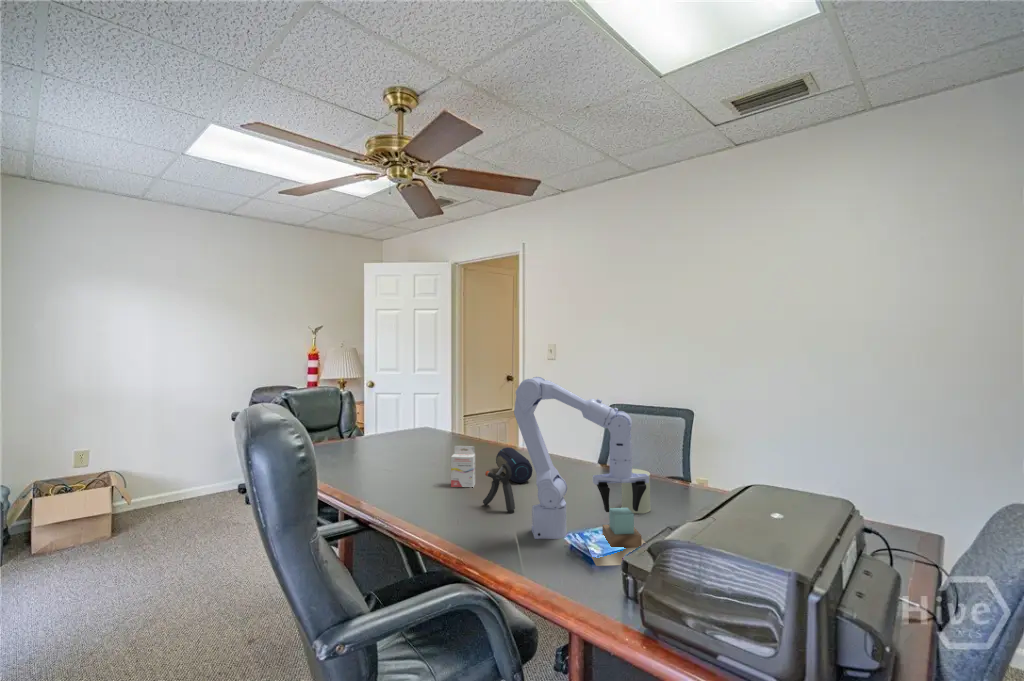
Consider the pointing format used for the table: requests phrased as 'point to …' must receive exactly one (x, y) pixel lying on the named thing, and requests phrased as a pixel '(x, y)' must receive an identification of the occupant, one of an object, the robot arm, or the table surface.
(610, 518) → the teal cube
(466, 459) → the ink cartridge box
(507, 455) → the portable speaker
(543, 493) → the robot arm
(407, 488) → the table surface
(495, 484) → the hand grip strengthener
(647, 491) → the can
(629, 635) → the table surface
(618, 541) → the walnut base
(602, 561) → the birch board
